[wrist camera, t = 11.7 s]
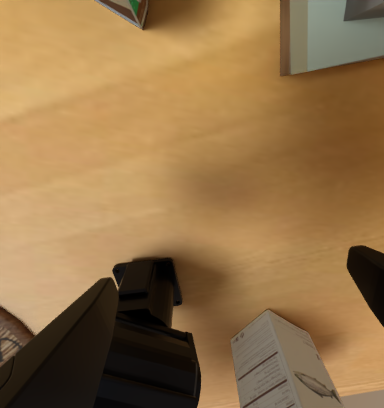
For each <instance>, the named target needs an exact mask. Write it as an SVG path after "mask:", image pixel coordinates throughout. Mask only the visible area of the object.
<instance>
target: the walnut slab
mask: <svg viewBox="0 0 384 408" xmlns="http://www.w3.org/2000/svg"><path fill="white" fill-rule="evenodd" d="M381 58H384V55H382V56H377V57H373V58H368V59H364V60H359V61H354V62H350V63H345V64H341V65H347V64H352V63H358V62H364V61H370V60H375V59H381ZM341 65H336V66H341ZM331 67H335V66H331ZM327 68H330V67H327ZM322 69H324V68H322ZM289 74H291V52H290V0H280V76H284V75H289Z"/></svg>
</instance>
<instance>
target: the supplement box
mask: <svg viewBox="0 0 384 408" xmlns="http://www.w3.org/2000/svg"><path fill="white" fill-rule="evenodd" d="M230 342H231V349H232V355H233V362H234V369H235V375H236V382H237V389H238V395H239V402H240V408H345V407H344V405H343V403H342V401H341V399H340V396H339V394H338V392H337V390H336V388H335V386H334V384H333V382H332V380H331V378H330V376H329V374H328V372H327V370H326V368H325V366H324V363H323V361H322V359H321V357H320V355H319V353H318V351H317V349H316V347H315V345H314V343H313V341H312V339H311V337H310V335H309V333H308V332H307V331H305V330H302V329H300V328H299V327H297V326H295V325H293V324H291V323H290V322H288V321H286V320H285V319H283V318H281V317H279V316H278V315H276V314H275V313H273V312H272V311H270V310H266V311H265V312H263V313H262V314H261V315H259V316H258V317H257V318H256V319H255V320H253V321H252V322H251V323H250V324H248V325H247V326H246V327H245V328H244V329H242V330H241V331H240V332H239V333H238V334H237V335H235V336H234V337H233V338H232V339H231V340H230Z"/></svg>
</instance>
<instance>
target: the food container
mask: <svg viewBox="0 0 384 408" xmlns="http://www.w3.org/2000/svg"><path fill="white" fill-rule="evenodd" d="M95 1H96V2H98V3H99V4H101V5H103V6H104V7H106V8H108V9H109V10H111V11H112V12H114V13H116V14H117V15H119V16H121V17H122V18H124V19H125V20H127V21H129V22H130V23H132V24H134V25H135V26H137V27H138V28H140V29H142V30H143V28H144V25H145V21H146V17H147V14H148V2H149V0H95Z"/></svg>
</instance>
